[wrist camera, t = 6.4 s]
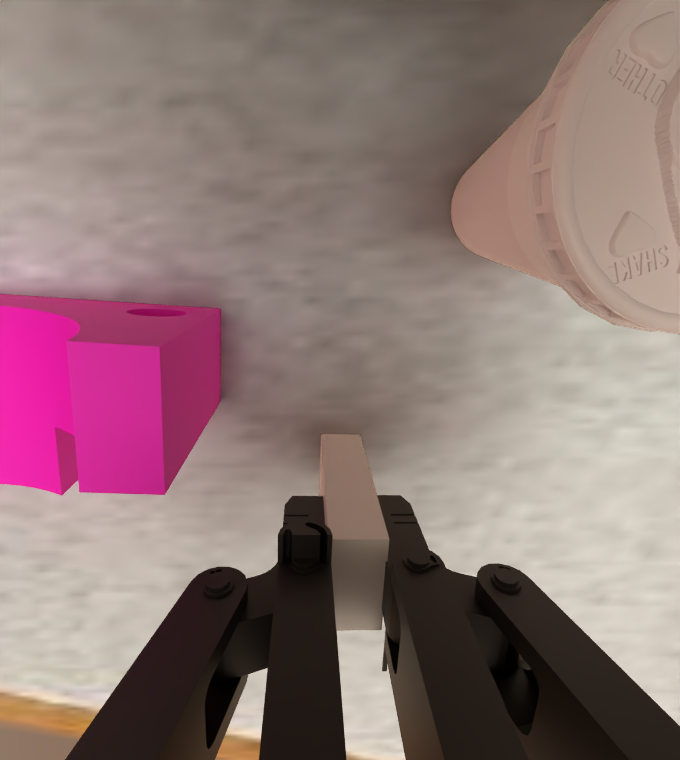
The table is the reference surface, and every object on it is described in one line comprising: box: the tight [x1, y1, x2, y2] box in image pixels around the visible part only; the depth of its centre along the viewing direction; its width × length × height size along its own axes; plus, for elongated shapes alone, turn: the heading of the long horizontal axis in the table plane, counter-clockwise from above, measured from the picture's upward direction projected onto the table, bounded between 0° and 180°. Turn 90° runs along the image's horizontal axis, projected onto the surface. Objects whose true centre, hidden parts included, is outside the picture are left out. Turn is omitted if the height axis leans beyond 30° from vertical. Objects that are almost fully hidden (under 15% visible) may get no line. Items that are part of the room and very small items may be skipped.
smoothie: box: [451, 0, 680, 334], centre depth 10 cm, size 6×6×14 cm
